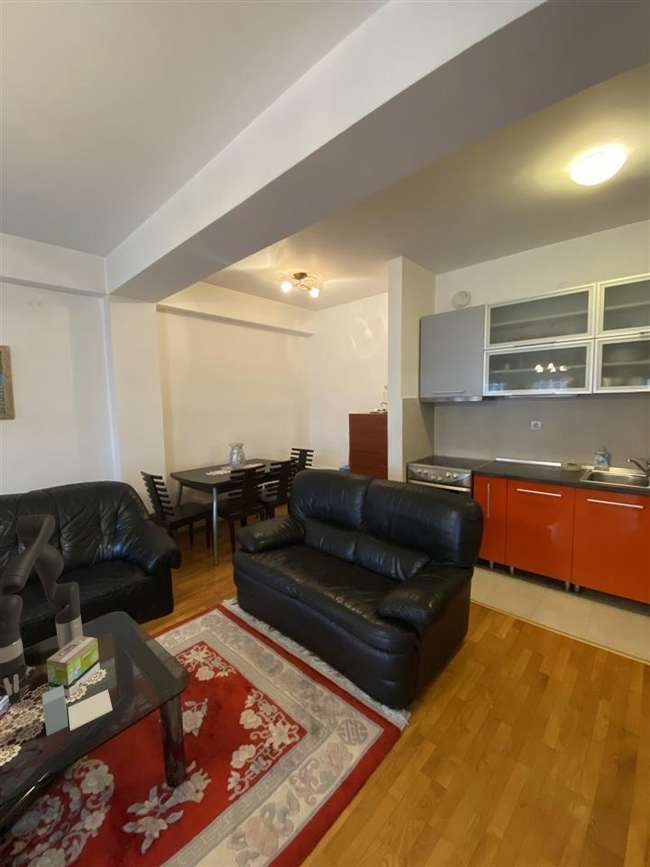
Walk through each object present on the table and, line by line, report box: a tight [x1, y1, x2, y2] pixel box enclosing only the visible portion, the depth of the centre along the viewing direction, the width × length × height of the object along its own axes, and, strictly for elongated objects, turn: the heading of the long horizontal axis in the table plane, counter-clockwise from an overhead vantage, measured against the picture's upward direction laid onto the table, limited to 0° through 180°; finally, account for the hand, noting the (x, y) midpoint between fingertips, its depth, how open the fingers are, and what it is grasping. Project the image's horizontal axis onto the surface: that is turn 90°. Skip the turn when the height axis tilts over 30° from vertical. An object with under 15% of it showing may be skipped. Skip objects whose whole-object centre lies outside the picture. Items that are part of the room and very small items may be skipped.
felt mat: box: [67, 689, 113, 732], centre depth 136 cm, size 12×13×1 cm
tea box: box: [45, 635, 101, 698], centre depth 149 cm, size 15×10×15 cm, turn 168°
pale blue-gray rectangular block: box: [42, 685, 69, 737], centre depth 130 cm, size 6×6×12 cm
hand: (15, 701), depth 122 cm, fingers closed
